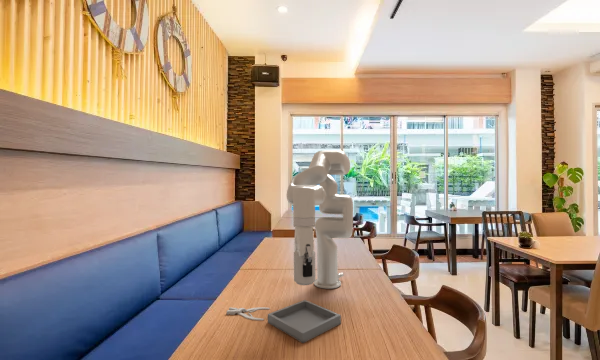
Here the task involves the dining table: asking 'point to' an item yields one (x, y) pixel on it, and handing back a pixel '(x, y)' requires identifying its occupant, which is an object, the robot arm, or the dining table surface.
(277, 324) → the parts tray
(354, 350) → the dining table surface
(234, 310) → the pliers
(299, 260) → the can
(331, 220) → the robot arm
